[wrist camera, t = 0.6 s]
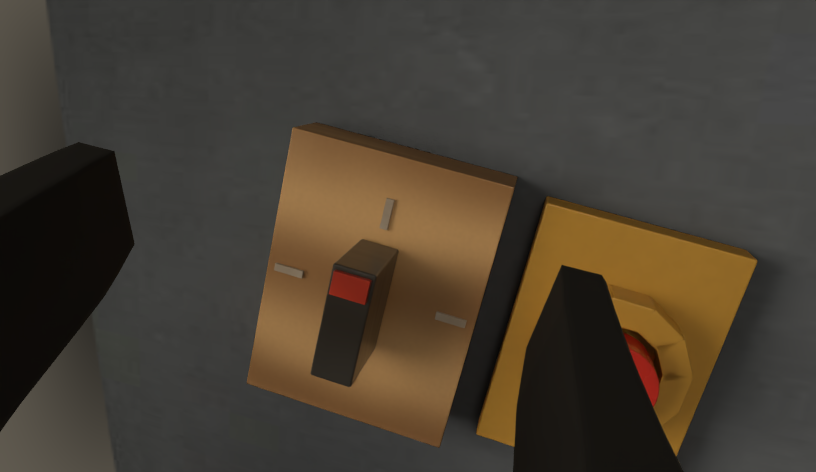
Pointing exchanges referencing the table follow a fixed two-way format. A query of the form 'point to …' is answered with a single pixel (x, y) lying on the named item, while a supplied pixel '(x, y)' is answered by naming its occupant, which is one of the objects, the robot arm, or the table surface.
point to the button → (644, 367)
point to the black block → (353, 311)
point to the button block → (628, 305)
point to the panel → (411, 283)
